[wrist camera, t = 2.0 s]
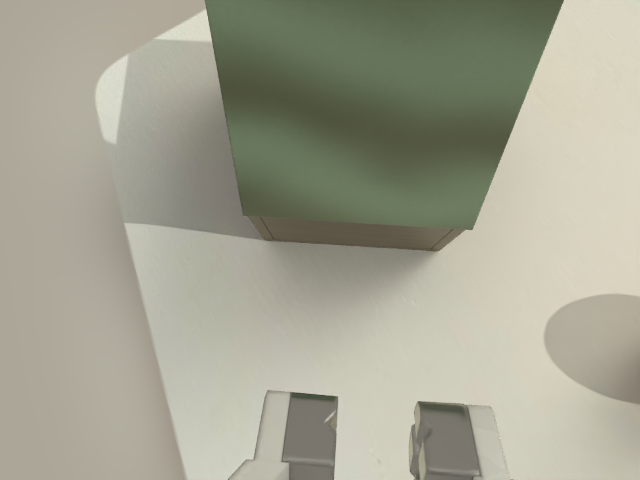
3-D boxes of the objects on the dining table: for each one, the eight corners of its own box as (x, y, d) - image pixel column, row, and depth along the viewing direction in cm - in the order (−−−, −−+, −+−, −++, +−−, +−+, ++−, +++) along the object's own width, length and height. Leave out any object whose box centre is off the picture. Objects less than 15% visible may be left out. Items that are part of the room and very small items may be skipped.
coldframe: (280, 55, 46) (266, -19, 36) (445, 64, 45) (475, -10, 36) (264, 240, 43) (245, 213, 34) (439, 251, 43) (470, 226, 33)
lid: (196, -83, 20) (191, -71, 19) (581, -67, 19) (586, -55, 19) (245, 206, 33) (243, 216, 33) (471, 219, 33) (472, 230, 32)
